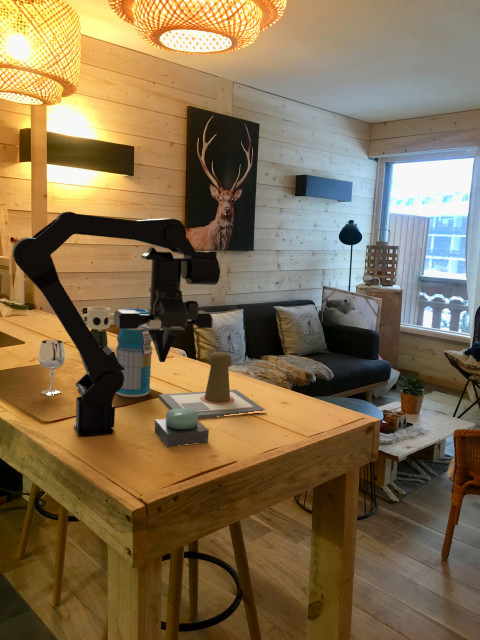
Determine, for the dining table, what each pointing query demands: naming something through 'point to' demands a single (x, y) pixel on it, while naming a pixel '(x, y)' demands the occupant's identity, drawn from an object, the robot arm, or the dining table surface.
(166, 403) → the drawing board
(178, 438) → the button housing
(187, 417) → the button
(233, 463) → the dining table surface
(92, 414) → the robot arm
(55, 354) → the wineglass
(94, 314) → the character mug
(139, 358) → the beverage bottle
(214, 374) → the brown tapered upright piece
